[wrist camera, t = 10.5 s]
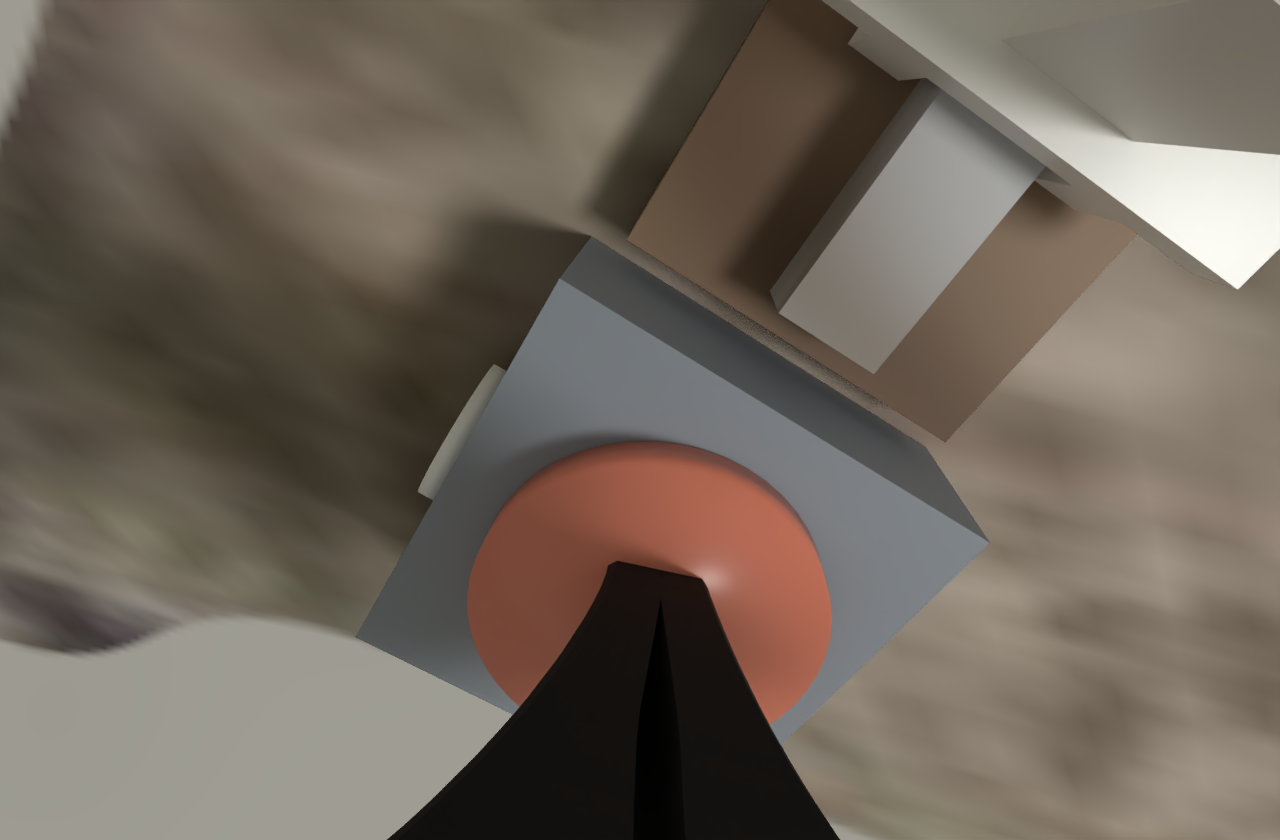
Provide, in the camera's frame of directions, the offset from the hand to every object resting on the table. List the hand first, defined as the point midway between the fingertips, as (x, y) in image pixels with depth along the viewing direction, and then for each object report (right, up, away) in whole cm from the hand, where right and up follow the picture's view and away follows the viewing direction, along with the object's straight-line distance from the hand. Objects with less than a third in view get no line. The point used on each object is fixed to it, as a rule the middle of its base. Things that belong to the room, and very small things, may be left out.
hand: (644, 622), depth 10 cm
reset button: (0, +1, +3) cm, 3 cm away
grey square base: (0, +2, +3) cm, 4 cm away
